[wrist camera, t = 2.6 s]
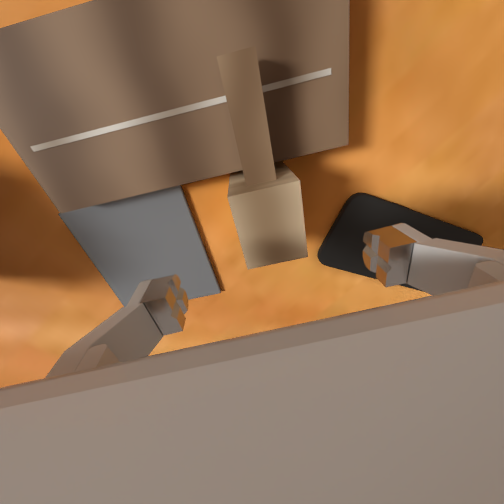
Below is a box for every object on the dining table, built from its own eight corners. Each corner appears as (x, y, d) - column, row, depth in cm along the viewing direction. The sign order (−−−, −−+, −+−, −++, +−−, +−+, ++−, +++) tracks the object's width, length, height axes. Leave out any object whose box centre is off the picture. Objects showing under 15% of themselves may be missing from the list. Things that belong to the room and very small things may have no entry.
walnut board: (330, -44, 12) (350, -79, 10) (334, 140, 17) (348, 144, 15) (-12, 56, 13) (-60, 45, 11) (81, 201, 18) (59, 213, 16)
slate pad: (180, 183, 18) (178, 184, 17) (220, 290, 24) (220, 293, 23) (61, 211, 18) (58, 213, 18) (129, 309, 24) (128, 311, 24)
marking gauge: (267, 60, 14) (284, 30, 9) (289, 219, 20) (307, 256, 15) (205, 77, 14) (188, 57, 9) (245, 229, 20) (247, 269, 15)
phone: (434, 295, 25) (314, 263, 22) (428, 290, 26) (311, 258, 22) (489, 238, 22) (356, 190, 18) (481, 234, 22) (351, 187, 19)
